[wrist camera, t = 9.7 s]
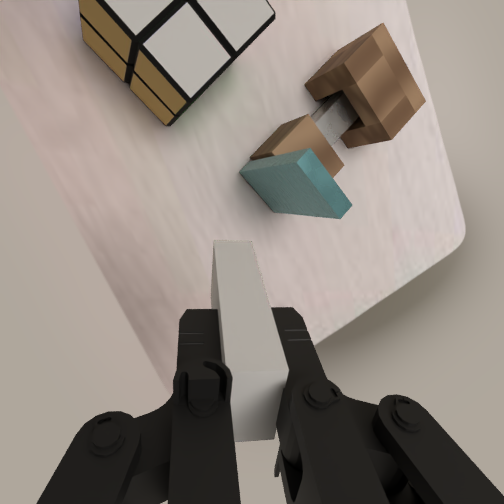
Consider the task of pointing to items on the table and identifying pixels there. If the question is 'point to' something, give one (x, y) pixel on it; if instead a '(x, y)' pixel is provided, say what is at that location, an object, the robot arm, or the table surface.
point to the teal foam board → (305, 170)
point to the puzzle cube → (171, 44)
